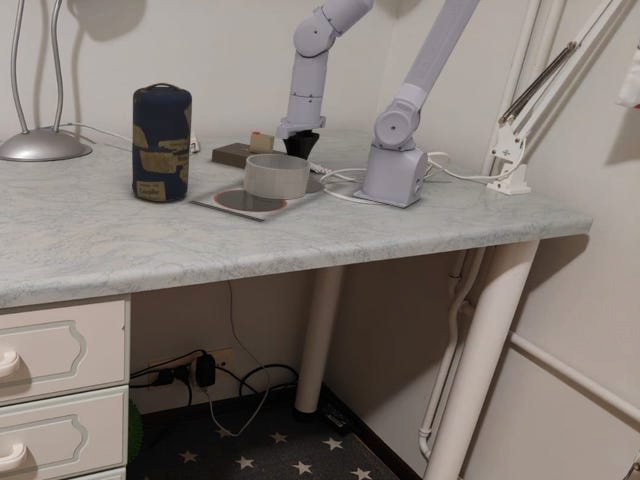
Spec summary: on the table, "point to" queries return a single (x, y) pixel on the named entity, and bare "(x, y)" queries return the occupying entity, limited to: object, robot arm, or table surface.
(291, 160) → the pot
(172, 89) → the canister
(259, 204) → the hob
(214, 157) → the dial box
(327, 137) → the table surface
